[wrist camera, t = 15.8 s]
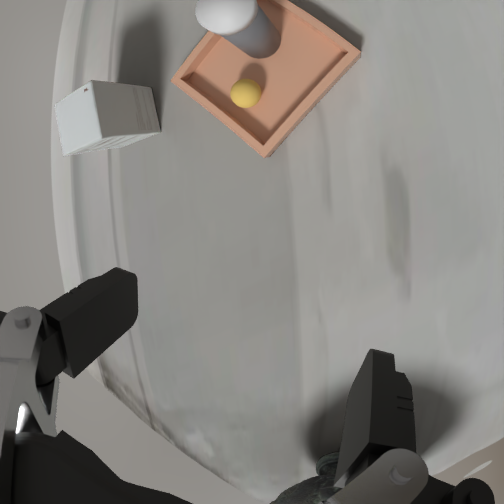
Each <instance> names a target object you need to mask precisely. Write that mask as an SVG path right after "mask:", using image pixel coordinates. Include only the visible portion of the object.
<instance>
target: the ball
mask: <svg viewBox="0 0 504 504" xmlns="http://www.w3.org/2000/svg"><path fill="white" fill-rule="evenodd" d="M230 95H231V99H232V101H233V102H234V103H235V104H236V105H237V106H239V107H242V108H249V107H252V106H254V105H256V104H257V103H258V102H259V100H260V98H261V88H260V86H259V85H258V84H257V83H256V82H255V81H254V80H251V79H241V80H238V81H237V82H235V83H234V84H233V86H232V88H231V91H230Z"/></svg>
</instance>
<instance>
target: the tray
mask: <svg viewBox="0 0 504 504" xmlns="http://www.w3.org/2000/svg"><path fill="white" fill-rule="evenodd" d="M256 1H257V4H258V5H259V6H260V8H261V9H262V10H263V12H264V13H265V14H266V15H267V17H268V18H269V19H270V21H271V22H272V23H273V25H274V26H275V27H276V29H277V30H278V31H279V33H280V36H281V44H280V47H279V49H278V50H277V51H276V52H275V53H274V54H273V55H271V56H269V57H267V58H263V59H257V58H253V57H250V56H249V55H247V54H246V53H244V52H243V51H242V50H240V49H239V48H238V47H236V46H235V45H233V44H232V43H231V42H229V41H228V40H226V39H225V38H223V37H222V36H220V35H217V34H215V33H213V32H211V31H208V32H207V34H206V35H205V36H204V37H203V38H202V40H201V41H200V42H199V43H198V45H197V46H196V47H195V49H194V50H193V51H192V52H191V54H190V55H189V56H188V58H187V59H186V60H185V62H184V63H183V64H182V66H181V67H180V68H179V70H178V71H177V72H176V74H175V75H174V77H173V78H172V79H171V82H172V83H174V84H175V85H176V86H178V87H179V88H180V89H181V90H183V91H184V92H185V93H187V94H188V95H189V96H190V97H192V98H193V99H194V100H195V101H197V102H198V103H199V104H200V105H202V106H203V107H204V108H205V109H207V110H208V111H209V112H210V113H212V114H213V115H214V116H215V117H217V118H218V119H219V120H220V121H221V122H223V123H224V124H225V125H226V126H227V127H229V128H230V129H231V130H232V131H233V132H235V133H236V134H237V135H238V136H239V137H240V138H242V139H243V140H244V141H245V142H246V143H247V144H249V145H250V146H251V147H252V148H253V149H254V150H256V151H257V152H258V153H259V154H260V155H261V156H262V157H264V158H267V157H270V156H271V155H272V154H273V153H274V151H275V150H276V149H277V148H278V147H279V146H280V145H281V143H282V142H283V141H284V140H285V139H286V138H287V137H288V135H289V134H290V133H291V132H292V131H293V130H294V129H295V128H296V126H297V125H298V124H299V123H300V122H301V121H302V120H303V119H304V118H305V116H306V115H307V114H308V113H309V112H310V111H311V110H312V109H313V108H314V107H315V105H316V104H317V103H318V102H319V101H320V100H321V99H322V98H323V97H324V96H325V95H326V93H327V92H328V91H329V90H330V89H331V88H332V87H333V86H334V85H335V84H336V83H337V82H338V81H339V80H340V78H341V77H342V76H343V75H344V74H345V73H346V72H347V71H348V70H349V69H350V68H351V67H352V66H353V65H354V64H355V63H356V62H357V61H358V60H359V58H360V56H361V51H359V50H358V49H357V48H356V47H354V46H353V45H352V44H350V43H349V42H348V41H346V40H345V39H344V38H343V37H341V36H340V35H338V34H337V33H336V32H334V31H333V30H332V29H330V28H329V27H327V26H326V25H325V24H323V23H322V22H320V21H319V20H317V19H316V18H314V17H313V16H311V15H310V14H308V13H307V12H305V11H304V10H302V9H301V8H299V7H297V6H296V5H294V4H293V3H291V2H289V1H288V0H256ZM241 79H251V80H254V81H255V82H256V83H257V84H258V85H259V86H260V88H261V98H260V100H259V102H258V103H257V104H256V105H254V106H252V107H249V108H242V107H239V106H237V105H236V104H235V103H234V102H233V101H232V99H231V95H230V91H231V88H232V86H233V84H234V83H235V82H237V81H238V80H241Z"/></svg>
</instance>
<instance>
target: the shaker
mask: <svg viewBox="0 0 504 504" xmlns="http://www.w3.org/2000/svg"><path fill="white" fill-rule="evenodd" d="M195 13H196V18H197V20H198V22H199V23H200V24H201V25H202V26H203V27H205V28H206V29H208V30H209V31H211V32H213V33H215V34H217V35H220V36H222V37H223V38H225V39H226V40H228V41H229V42H231V43H232V44H233V45H235V46H236V47H238V48H239V49H240V50H242V51H243V52H244V53H246V54H247V55H249V56H250V57H253V58H257V59H263V58H267V57H269V56H271V55H273V54H274V53H275V52H276V51H277V50H278V49H279V47H280V44H281V36H280V33H279V31H278V30H277V29H276V27H275V26H274V25H273V23H272V22H271V21H270V19H269V18H268V17H267V15H266V14H265V13H264V12H263V10H262V9H261V8H260V6H259V5H258V4H257V1H256V0H198V2H197V5H196V9H195Z"/></svg>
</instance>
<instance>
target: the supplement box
mask: <svg viewBox="0 0 504 504" xmlns="http://www.w3.org/2000/svg"><path fill="white" fill-rule="evenodd" d="M54 107H55V113H56V119H57V125H58V131H59V136H60V141H61V147H62V152H63V156H69V155H74V154H80V153H85V152H91V151H97V150H104V149H112V148H120V147H124V146H127V145H129V144H131V143H134V142H137V141H139V140H142V139H144V138H147V137H150V136H153V135H155V134H158V133H160V132H161V130H160V126H159V122H158V117H157V113H156V108H155V103H154V98H153V94H152V89H151V87H145V86H138V85H130V84H122V83H114V82H105V81H95V80H91V81H89V82H88V83H86V84H85V85H83V86H82V87H80V88H79V89H77V90H76V91H74V92H72V93H71V94H69V95H68V96H66V97H65V98H63V99H62V100H60V101H59V102H58V103H56V104H55V105H54Z"/></svg>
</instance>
